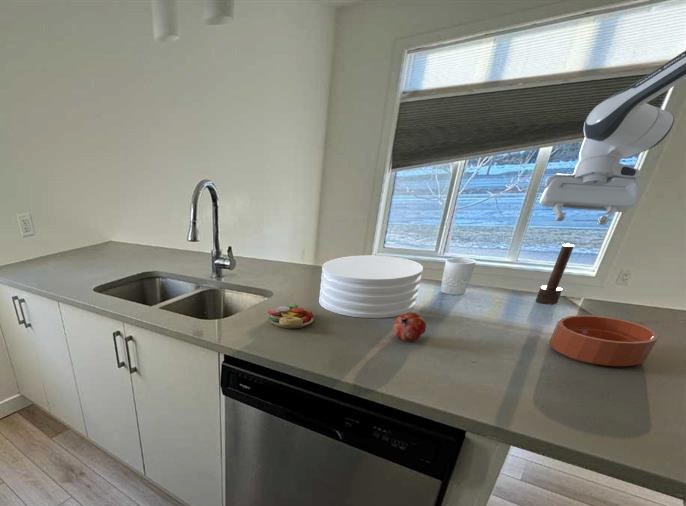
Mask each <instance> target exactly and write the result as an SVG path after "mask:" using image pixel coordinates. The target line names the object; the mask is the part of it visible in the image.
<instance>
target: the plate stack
mask: <svg viewBox="0 0 686 506" xmlns="http://www.w3.org/2000/svg"><path fill="white" fill-rule="evenodd" d="M423 271H424V267H423V265H421V263H419V262H418V261H417V262H416V261H414V260H411V259H409V258H408V259H407V258H404V257H398V256H389V255H376V254H375V255H372V254H369V255H367V254H365V255H364V254H363V255H349V256H343V257H337V258H332V259H330V260H327V261H326V262H324V263H323V264H322V266H321V275H320V276H321V281H320V289H319V298H318V303H319V305H320V306H321V307H322V308H323V309H325V310H327V311H329V312H332V313H333V314H337V315H342V316H347V317H352V318H362V319H385V318H392V317H399V316H402V315H404V314H406V313H409V312H412V311H413V310H414V309H415V308H416V307H415V306H416V300H417V297H418V292H419V289H420V284H421V280H422V274H423Z"/></svg>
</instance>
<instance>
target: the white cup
mask: <svg viewBox="0 0 686 506" xmlns="http://www.w3.org/2000/svg"><path fill="white" fill-rule="evenodd" d="M476 263H477V261H476V260H475V259H473V258H467V257H449V258H447V259H445V262H444V267H443V273H442V278H441V284H440V285H441V286H440V292H441V293H443V294H446V295H451V296H458V295H459V296H460V295H464V294H465V293H466V290H467V288H468V285H469V283H470V280H471V278H472V274H473V272H474V269H475V266H476Z"/></svg>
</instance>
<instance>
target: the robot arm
mask: <svg viewBox="0 0 686 506" xmlns="http://www.w3.org/2000/svg"><path fill="white" fill-rule="evenodd" d="M685 80H686V50H684V51H682V52H680V53H679V54H678V55H676V56H674V57H673V58H672V59H670V60H668V61H667V62H665V63H664V64H662V65H661V66H658V67H657V68H656V69H654V70H653V71H651V72H650V73H648V74H647V75H645V76H644V77H642V78H640V79H639V80H637V81H636V82H634V83H632V84H631V85H629V86H627V87H626V88H625V89H622V90H620V91H618V92H616V93H615V94H613V95H610V96H609V97H607V98H605V99H604V100H602V101H600V102H599V103H598V104H597V105H595V106H594V107H593V108H592V109H591V110H590V111H589V112H588V114H587V116H586V117H585V120H584V122H583V123H584V124H583V134H584V139H583V142H582V144H581V147H580V150H579V154H578V159H579V160H578V162H577V164H576V165H575V168H574V171H573V174H571V173H570V174H569V173H567V174H566V173H564V174H562V173H554V174H552V175H550V176H548V177H547V178H546V179H545V182H544V187H545V189H544V191H543V193H542V195H541V198H540V200H539V204H540V206H541V207H545V208H553V209H552V211H553V213H554V215H555V219H554V221H555V222H563V221H564V219H565V217H566V214H567V213H566V212H563V209H574V210H585V211H586V210H587V211H597V212H598V211H600V212H605V215H602V216H600V217H599V218H598V220H597V223H596V224H597V226H599V225H600V226H605V225H607V223H608V222H609V219H610V217H611V216H612V215H613V214H615V212H616V213H626V212H628V211H630V210H632V209H633V208H634V207H635V206H636V205H637V203H638V201H639V197H640V193H641V192H640V191H641V183H640V182H639V180H638V179H639V177H641V174H642V171H641V170H640V169H638V168H634V167H632V166H628V165H626V164H623V163H621V162H620V161H621V160H622V159H627V158H630V157H633V156H636V155H639V154H642V153H644V152H646V151H649V150H651V149H653V148H655V147H656V146H658V145H660V144H661V143H662V142H663V141H664V140H665V138H667V137H668V135H669V134H670V132H671V130H672V129H673V126H674V123H675V116H674V114H673V113H671V112H669V111H667V110H665V109H662V108H660V107H658V106H655V105H651V104H650V103H649V102H650V101H652V100H653V99H655V98H657V97H659V96H661V95H662V94H663V93H665V92H667V91H668V90H671V89H672V88H673V87H676V86H677V85H678V84H680V83H682V82H684V81H685Z"/></svg>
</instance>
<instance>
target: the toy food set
mask: <svg viewBox="0 0 686 506" xmlns="http://www.w3.org/2000/svg"><path fill="white" fill-rule="evenodd" d="M267 314H269V316H268V320H269V321H270V322H271V323H272V325H274V326H276V327H279V328H283V329H301V328H304V327H305V328H306V327H308V326H309V325H311V324H312V323H313V322H314V320H315V318H314V317H315V316H314V313H313V312H312V311H310V310H308V309H305V308H303V307H299V305H298V304H296V303H287V304H286V305H285V306H279V307H276V311H275V310H268V311H267Z"/></svg>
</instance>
